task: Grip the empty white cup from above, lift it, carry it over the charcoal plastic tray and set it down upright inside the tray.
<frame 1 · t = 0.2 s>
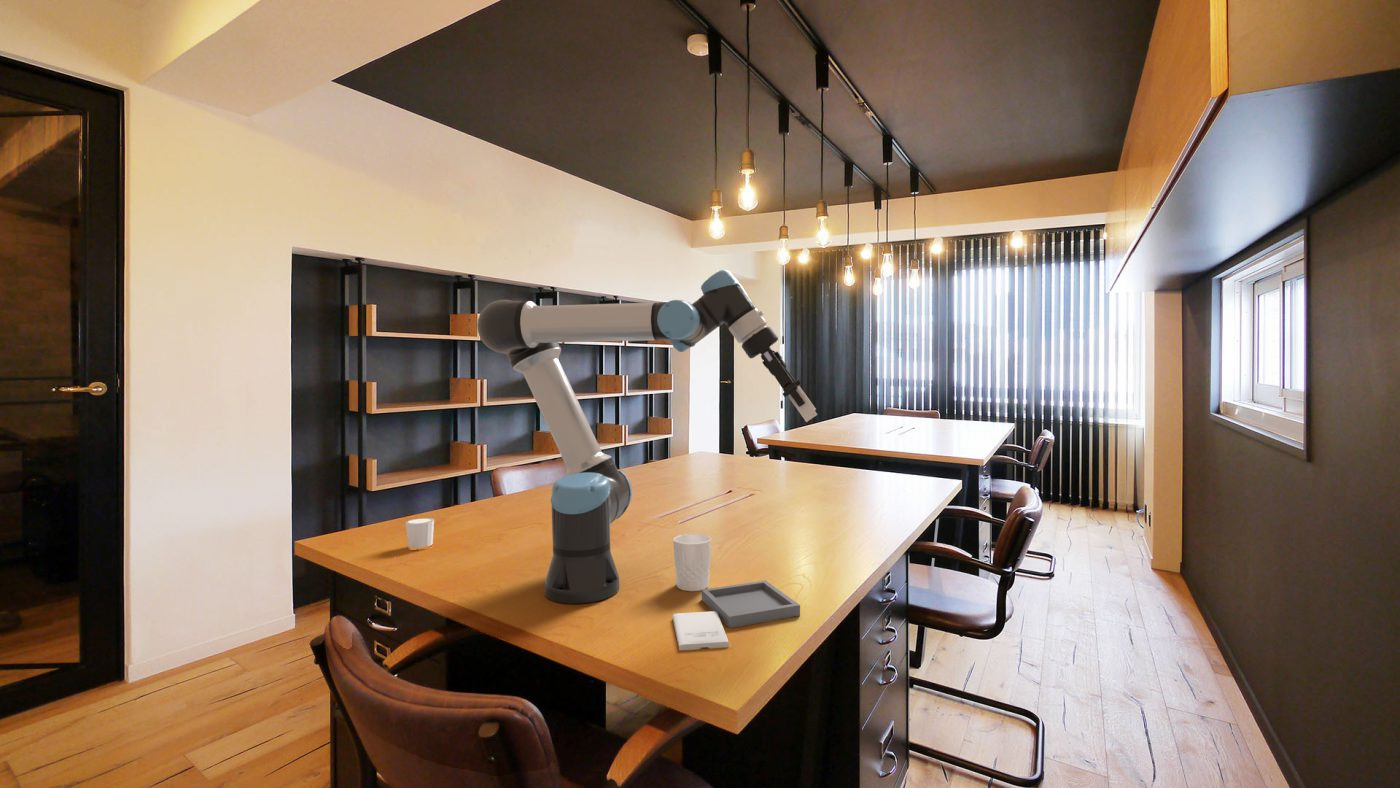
hand: (811, 415, 129), 35 cm above the table, tool tilted 35°, fingers open, 13 cm apart
white short cylinder: (420, 548, 157), on the table
external hard drive: (699, 636, 104), on the table
tray: (749, 607, 115), on the table
white cup: (692, 586, 127), on the table
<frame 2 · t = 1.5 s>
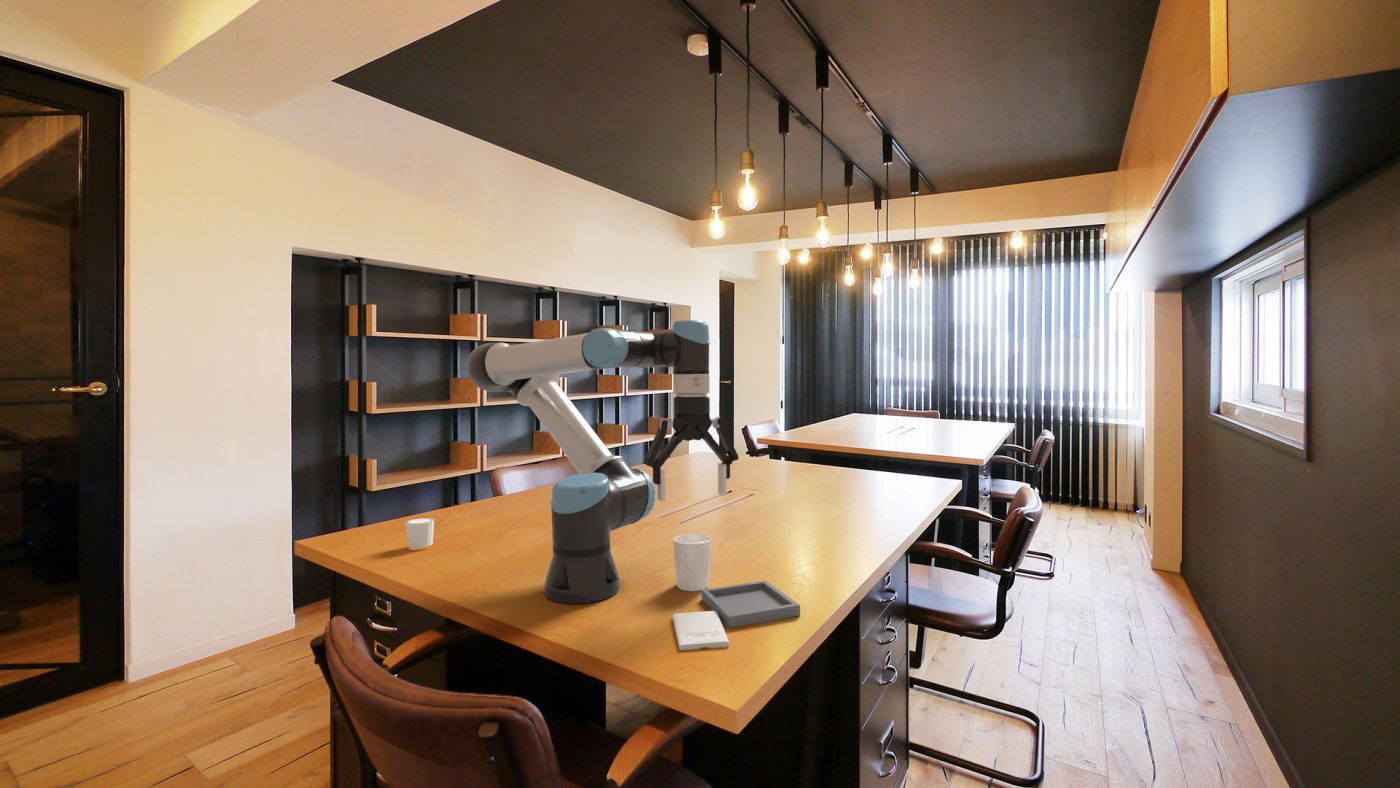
hand: (692, 497, 126), 19 cm above the table, tool pointing down, fingers open, 13 cm apart
nothing on the table moved.
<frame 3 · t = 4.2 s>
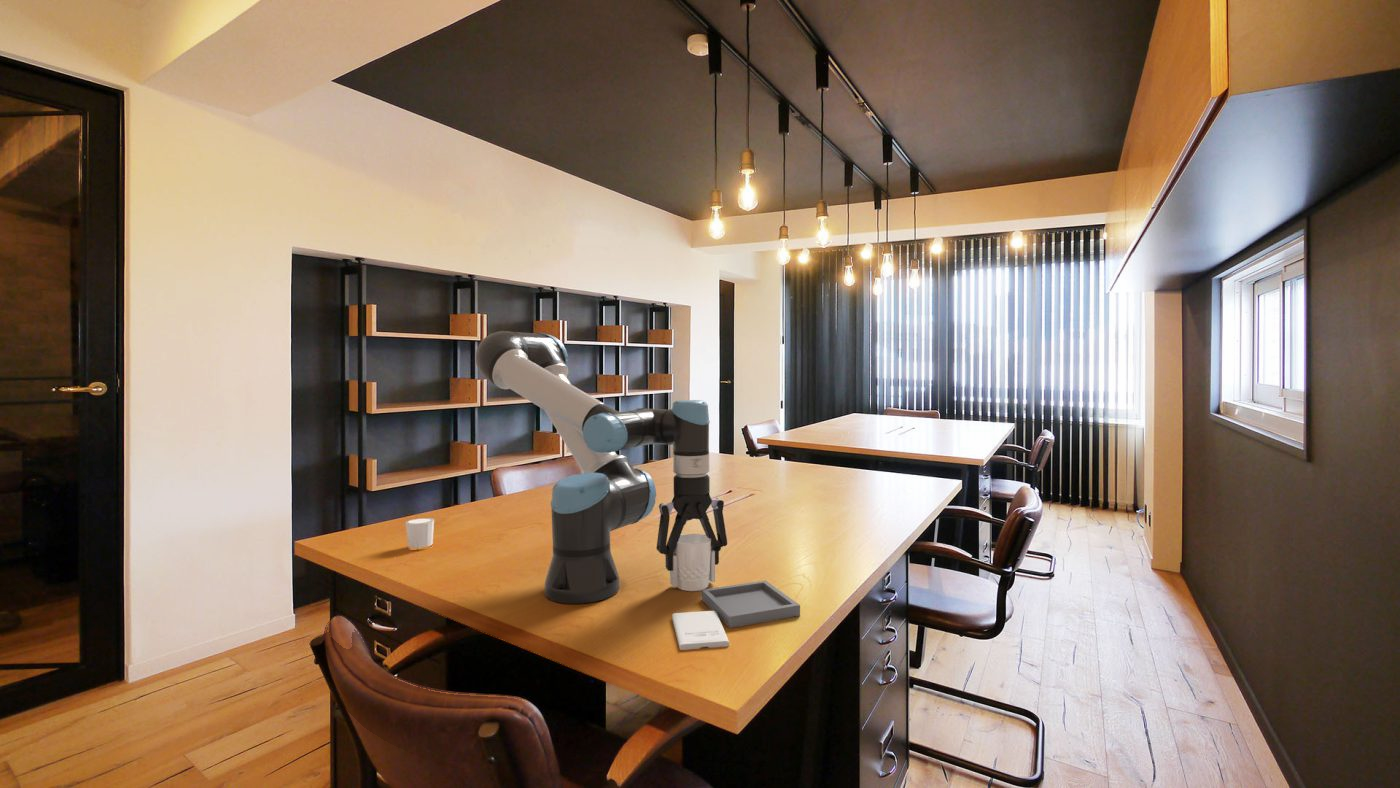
hand: (692, 582, 127), 1 cm above the table, tool pointing down, fingers closed on white cup, 8 cm apart
white cup: (692, 586, 127), on the table, touching gripper
everything else where it was.
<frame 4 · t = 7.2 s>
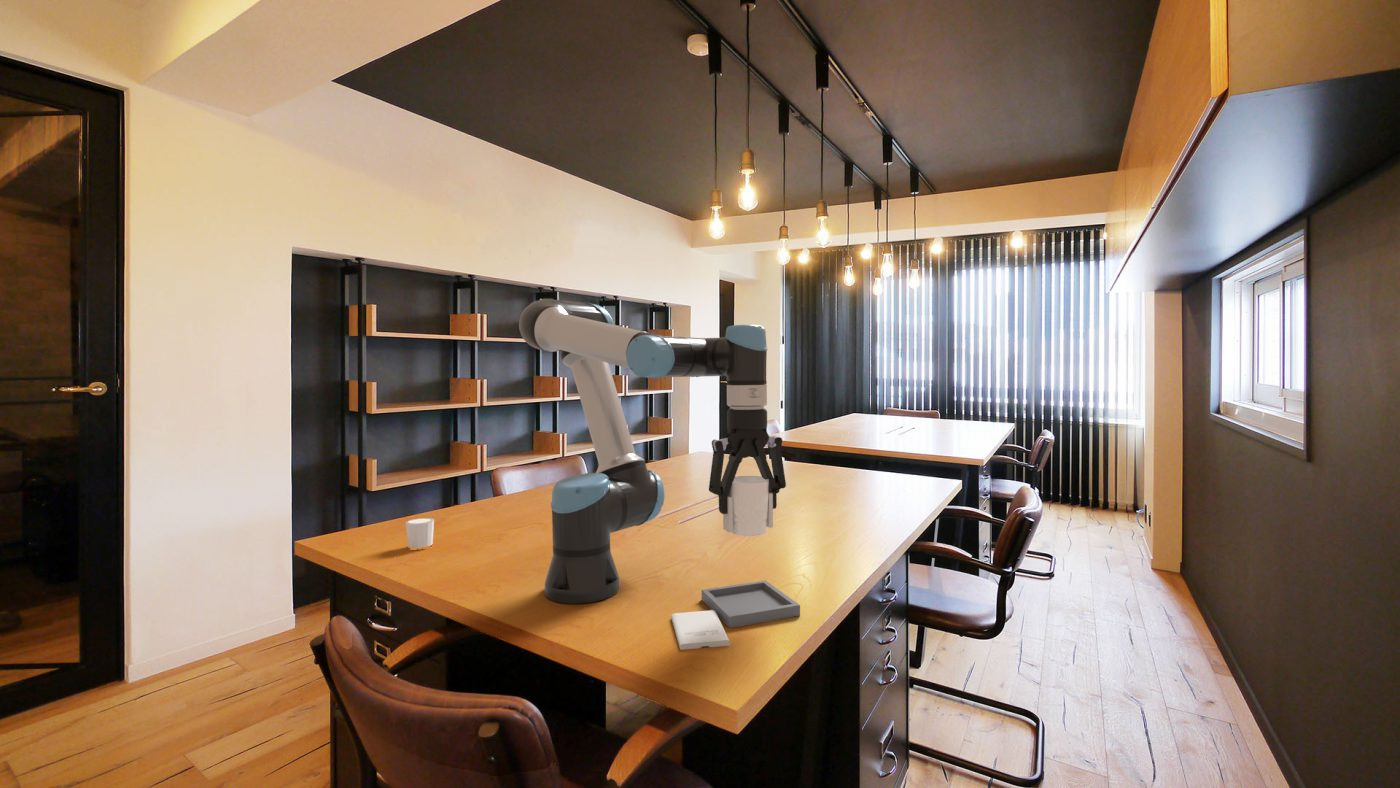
hand: (748, 528, 114), 15 cm above the table, tool pointing down, fingers closed on white cup, 8 cm apart
white cup: (748, 532, 114), point 14 cm above the table, touching gripper
everything else where it was.
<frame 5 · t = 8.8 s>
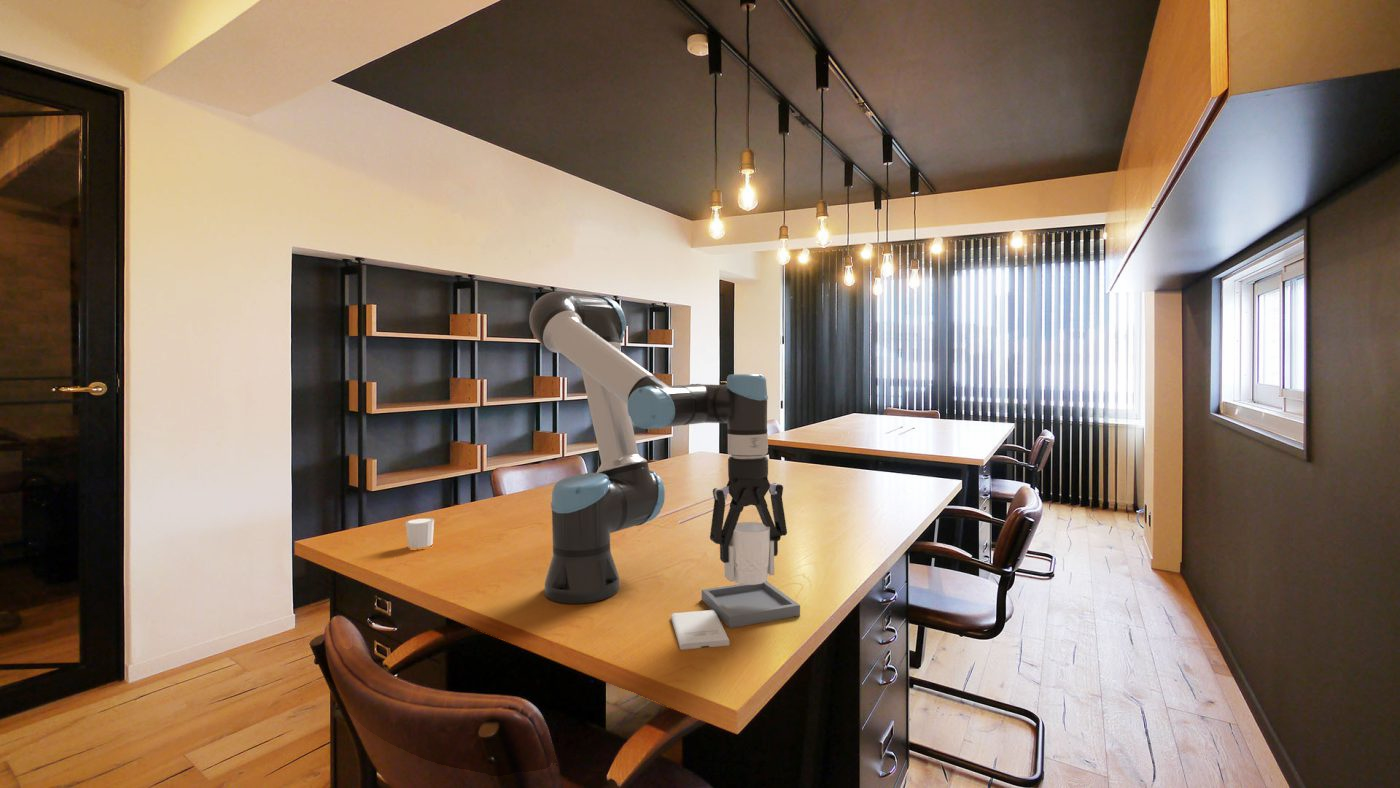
hand: (749, 575, 114), 6 cm above the table, tool pointing down, fingers closed on white cup, 8 cm apart
white cup: (749, 580, 114), point 5 cm above the table, touching gripper
everything else where it was.
when the fingers open (2 cm above the table, at t = 10.4 s): white cup moves 1 cm, resting on tray.
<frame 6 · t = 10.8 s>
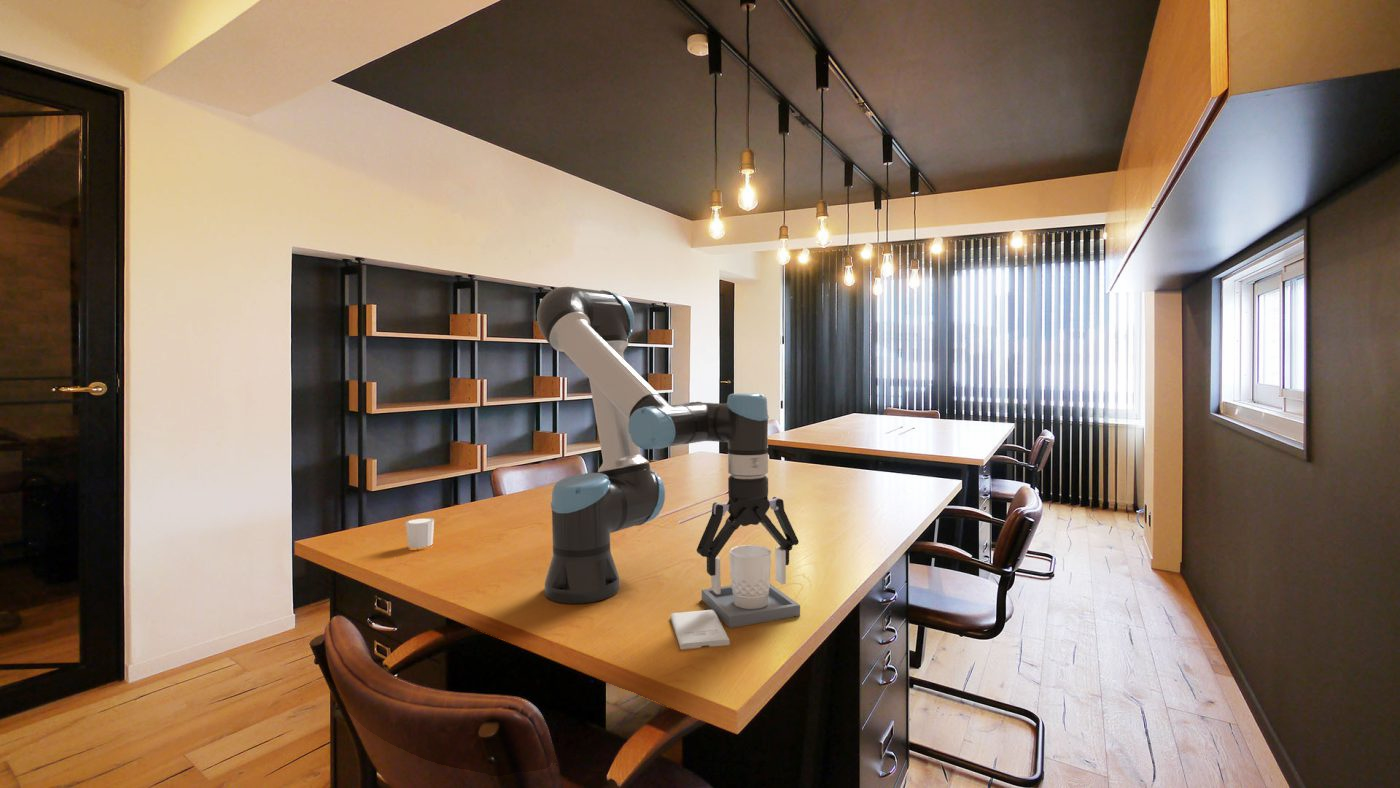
hand: (748, 586, 115), 4 cm above the table, tool pointing down, fingers open, 13 cm apart
white cup: (750, 603, 115), point 1 cm above the table, touching tray
everything else where it was.
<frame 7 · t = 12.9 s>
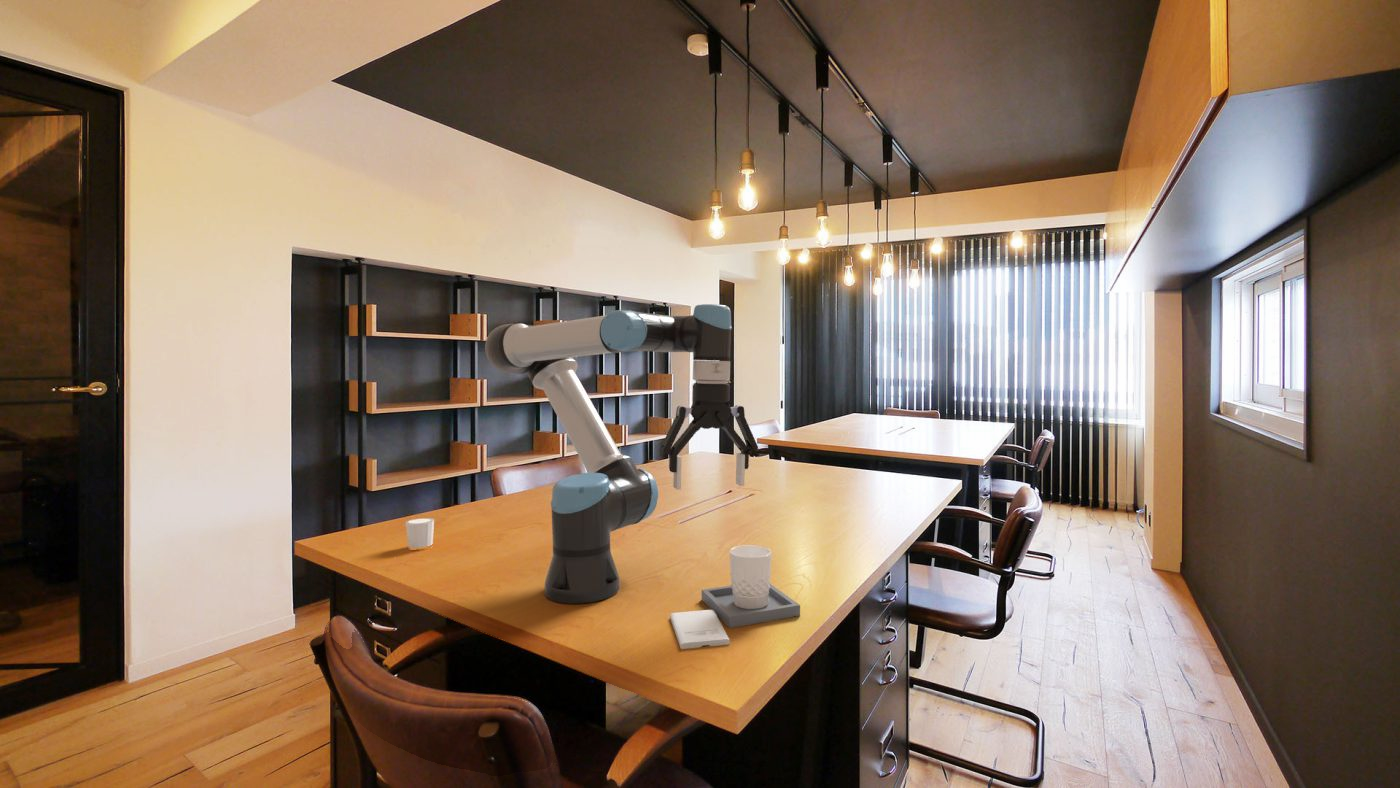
hand: (709, 486, 123), 21 cm above the table, tool pointing down, fingers open, 13 cm apart
nothing on the table moved.
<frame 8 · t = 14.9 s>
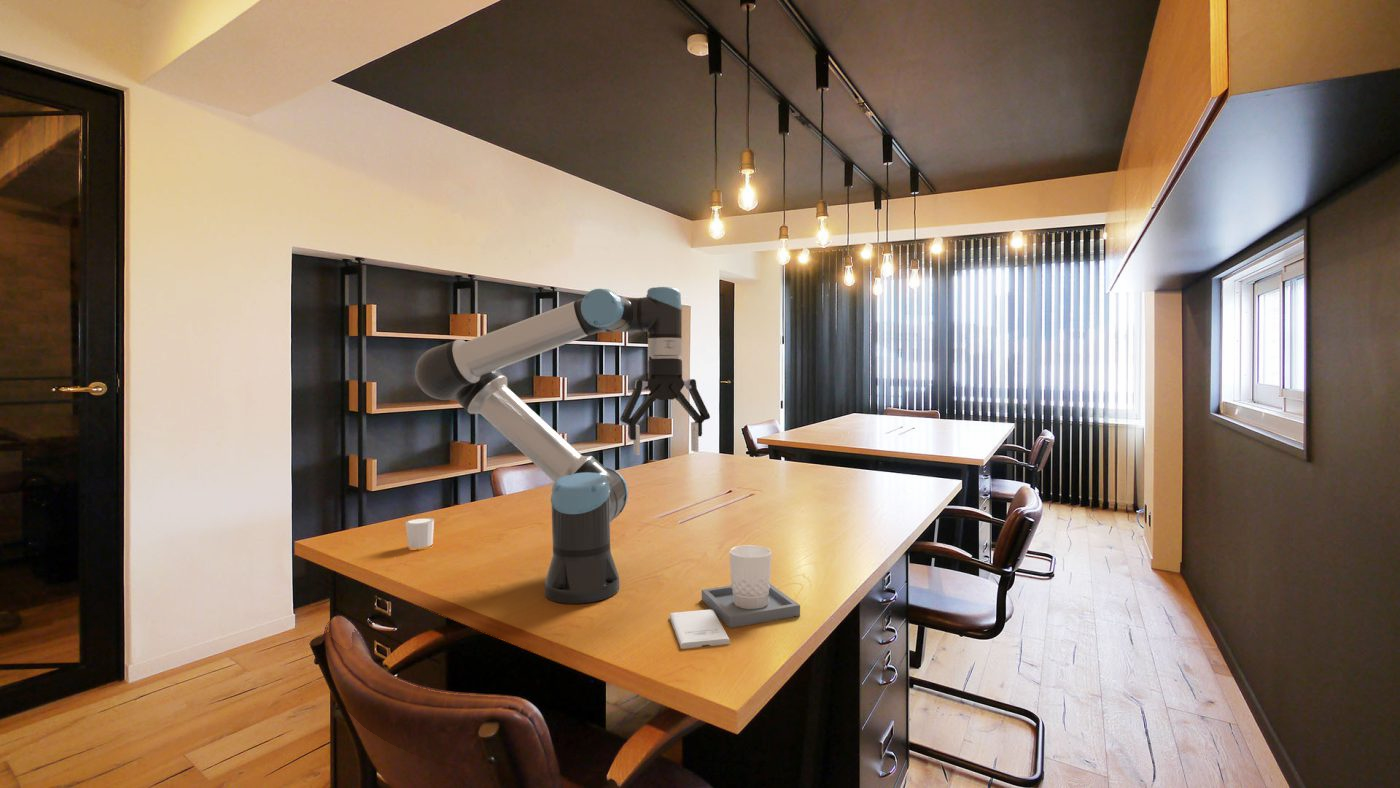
hand: (666, 453, 135), 27 cm above the table, tool pointing down, fingers open, 13 cm apart
nothing on the table moved.
at the end: white cup 0.4 cm off-centre on the tray, point 0.6 cm above the tray's base; white cup tilted 0°; the gripper is holding nothing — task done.
